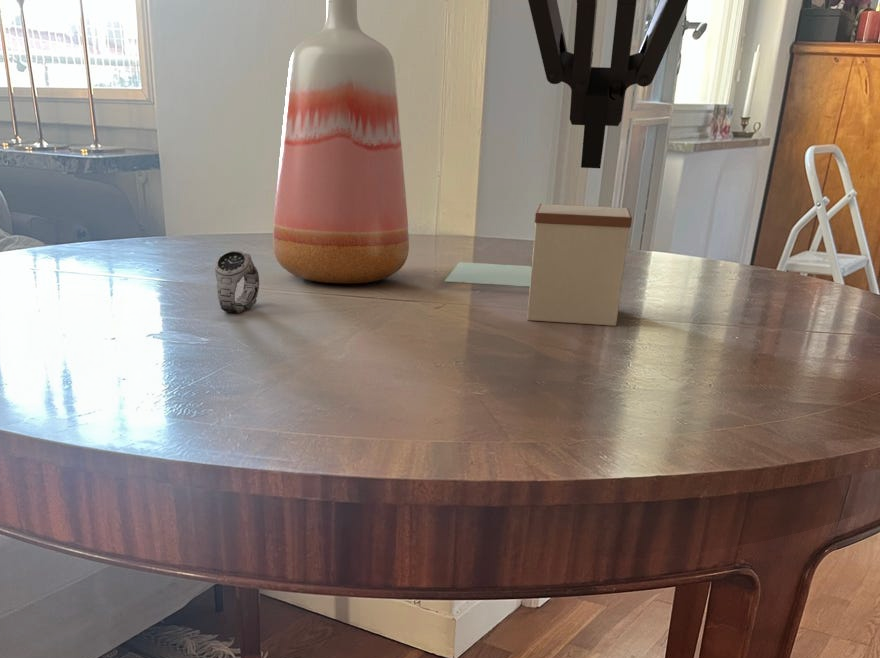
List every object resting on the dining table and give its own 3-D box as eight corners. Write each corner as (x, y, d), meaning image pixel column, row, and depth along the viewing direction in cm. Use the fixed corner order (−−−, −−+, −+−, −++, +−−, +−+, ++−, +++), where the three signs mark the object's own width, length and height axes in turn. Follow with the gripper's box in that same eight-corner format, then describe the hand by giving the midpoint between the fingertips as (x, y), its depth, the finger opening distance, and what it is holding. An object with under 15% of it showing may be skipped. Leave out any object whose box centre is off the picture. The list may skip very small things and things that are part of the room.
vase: (389, 266, 111) (395, -45, 96) (423, 289, 99) (437, -64, 84) (265, 268, 107) (252, -55, 93) (285, 291, 95) (274, -76, 81)
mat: (609, 272, 113) (609, 270, 113) (612, 293, 101) (612, 291, 101) (459, 263, 115) (459, 262, 115) (444, 283, 103) (444, 281, 103)
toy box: (615, 309, 92) (628, 207, 88) (617, 326, 85) (632, 217, 81) (530, 303, 94) (539, 203, 89) (525, 320, 86) (535, 212, 82)
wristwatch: (209, 313, 85) (205, 254, 83) (237, 301, 90) (234, 244, 88) (245, 316, 85) (242, 256, 82) (272, 304, 90) (270, 247, 87)
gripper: (498, -144, 52) (502, 188, 74) (744, -146, 50) (673, 196, 72) (516, -234, 54) (515, 114, 77) (752, -240, 52) (681, 120, 74)
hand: (592, 154), depth 74 cm, fingers closed
